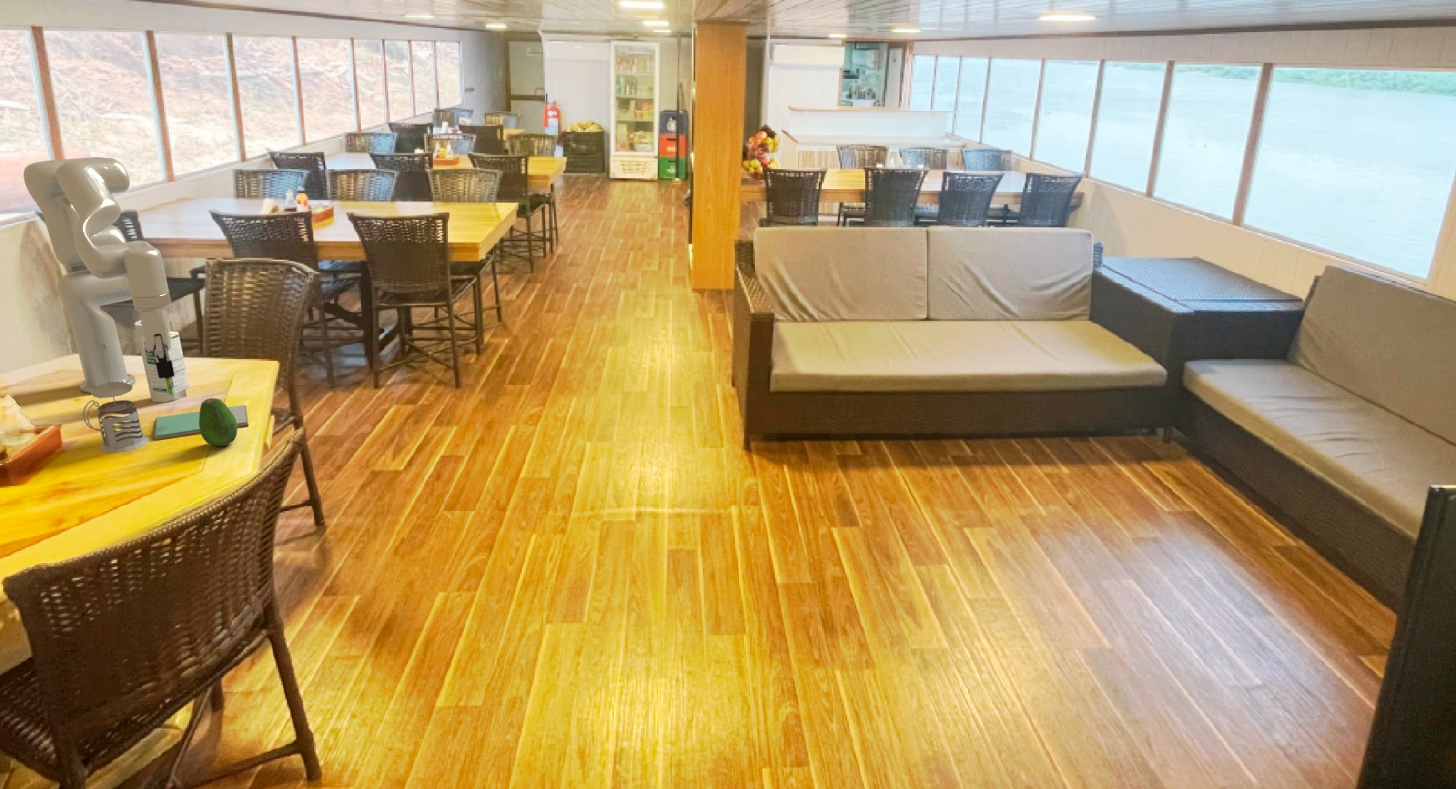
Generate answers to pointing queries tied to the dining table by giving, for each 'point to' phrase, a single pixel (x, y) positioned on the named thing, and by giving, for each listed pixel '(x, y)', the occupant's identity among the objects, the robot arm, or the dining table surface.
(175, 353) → the syrup box
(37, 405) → the dining table surface
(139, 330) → the paper towel roll
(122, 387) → the french press
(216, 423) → the avocado
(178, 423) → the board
